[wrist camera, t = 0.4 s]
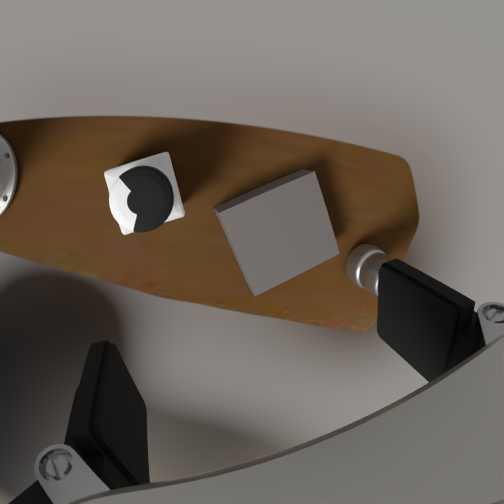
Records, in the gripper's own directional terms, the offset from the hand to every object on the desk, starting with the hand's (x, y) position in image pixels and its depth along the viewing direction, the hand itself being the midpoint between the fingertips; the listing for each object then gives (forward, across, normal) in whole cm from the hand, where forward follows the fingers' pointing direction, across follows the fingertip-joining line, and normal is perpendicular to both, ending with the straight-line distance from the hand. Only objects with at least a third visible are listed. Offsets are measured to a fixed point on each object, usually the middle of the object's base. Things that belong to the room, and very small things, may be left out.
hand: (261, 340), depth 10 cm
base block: (+32, -10, +6) cm, 34 cm away
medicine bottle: (+32, +5, -3) cm, 32 cm away
